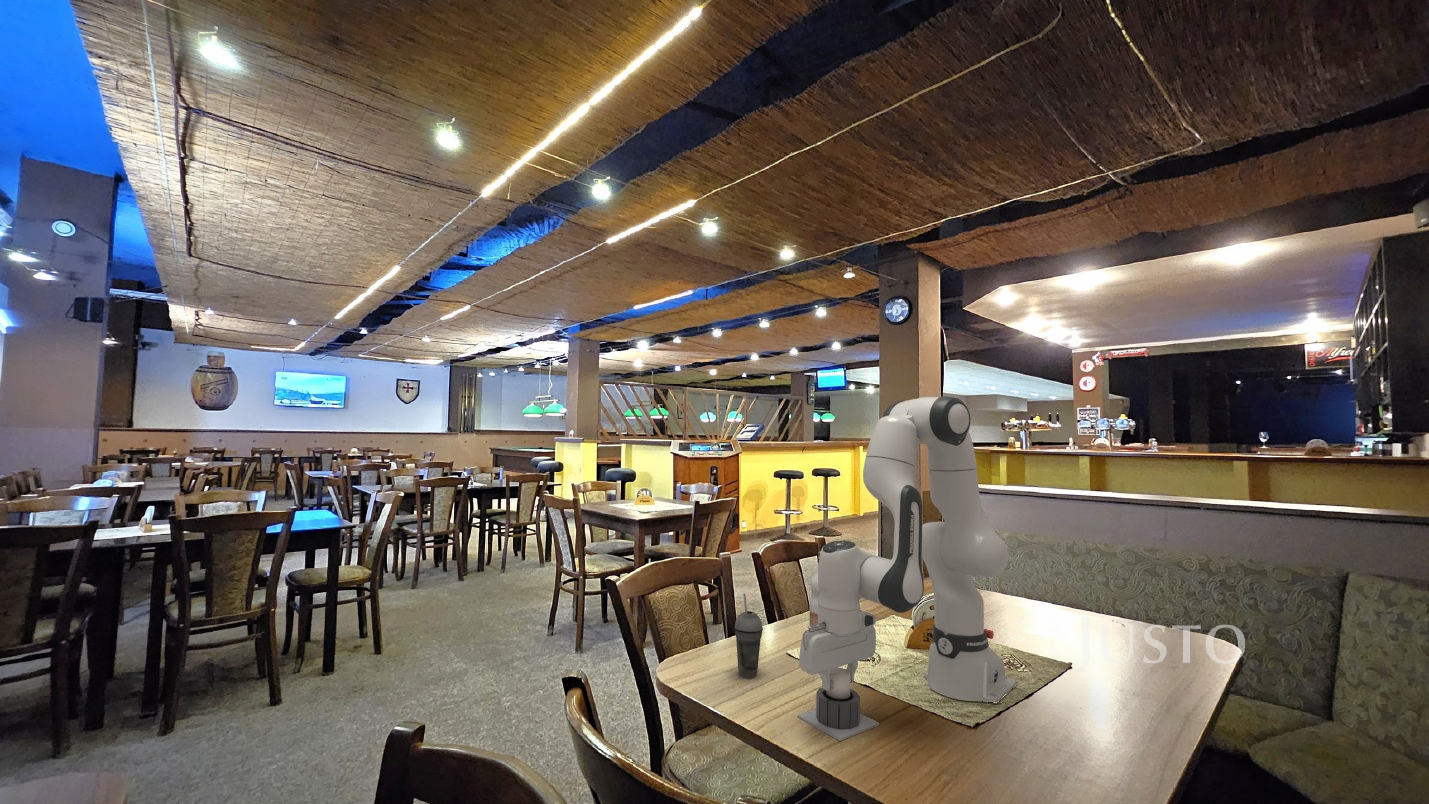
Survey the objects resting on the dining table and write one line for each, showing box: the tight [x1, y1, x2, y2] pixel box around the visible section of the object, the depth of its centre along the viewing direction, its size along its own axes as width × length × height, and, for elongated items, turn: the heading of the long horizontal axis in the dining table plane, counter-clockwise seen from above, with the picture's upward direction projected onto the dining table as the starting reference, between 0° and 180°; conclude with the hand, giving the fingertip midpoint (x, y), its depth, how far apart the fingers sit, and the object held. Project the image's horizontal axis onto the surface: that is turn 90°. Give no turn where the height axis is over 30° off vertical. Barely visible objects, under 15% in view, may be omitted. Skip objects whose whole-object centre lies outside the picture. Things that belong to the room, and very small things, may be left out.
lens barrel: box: [796, 687, 880, 742], centre depth 123 cm, size 12×12×5 cm
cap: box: [826, 667, 851, 699], centre depth 123 cm, size 5×5×4 cm
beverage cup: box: [733, 593, 764, 680], centre depth 147 cm, size 7×7×20 cm
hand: (838, 685), depth 123 cm, fingers closed on cap, 5 cm apart
